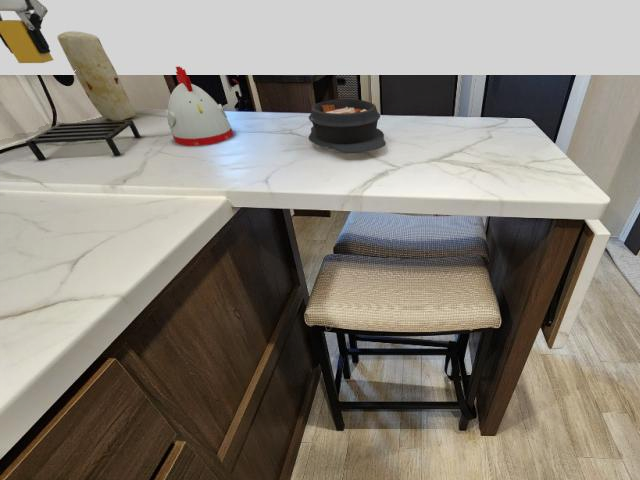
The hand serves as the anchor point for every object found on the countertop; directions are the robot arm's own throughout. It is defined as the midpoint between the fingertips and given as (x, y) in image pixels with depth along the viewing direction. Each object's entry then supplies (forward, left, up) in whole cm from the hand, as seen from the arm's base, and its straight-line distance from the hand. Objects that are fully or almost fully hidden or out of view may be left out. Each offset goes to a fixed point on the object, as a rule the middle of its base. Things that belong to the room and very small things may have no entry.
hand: (31, 51), depth 73 cm
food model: (+3, +16, -18) cm, 24 cm away
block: (0, 0, -2) cm, 2 cm away
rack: (+7, -10, -18) cm, 21 cm away
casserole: (+67, -18, -18) cm, 71 cm away
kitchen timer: (+31, -6, -18) cm, 36 cm away
